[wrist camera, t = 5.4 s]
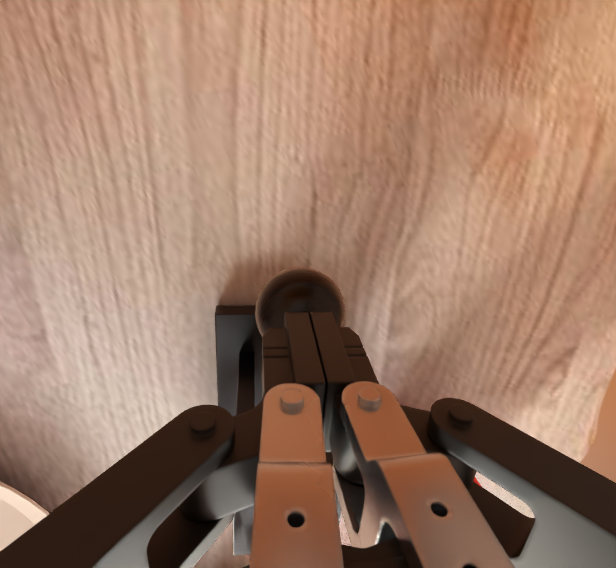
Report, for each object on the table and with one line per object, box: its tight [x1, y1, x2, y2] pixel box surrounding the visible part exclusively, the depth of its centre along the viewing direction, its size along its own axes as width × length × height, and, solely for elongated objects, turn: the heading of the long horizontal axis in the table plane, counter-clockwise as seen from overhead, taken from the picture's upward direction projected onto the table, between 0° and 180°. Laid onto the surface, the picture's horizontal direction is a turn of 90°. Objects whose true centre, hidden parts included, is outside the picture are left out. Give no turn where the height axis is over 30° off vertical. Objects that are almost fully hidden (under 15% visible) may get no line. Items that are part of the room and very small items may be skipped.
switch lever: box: [255, 267, 345, 337], centre depth 18 cm, size 14×3×3 cm, turn 176°
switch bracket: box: [215, 306, 341, 556], centre depth 24 cm, size 10×8×12 cm
